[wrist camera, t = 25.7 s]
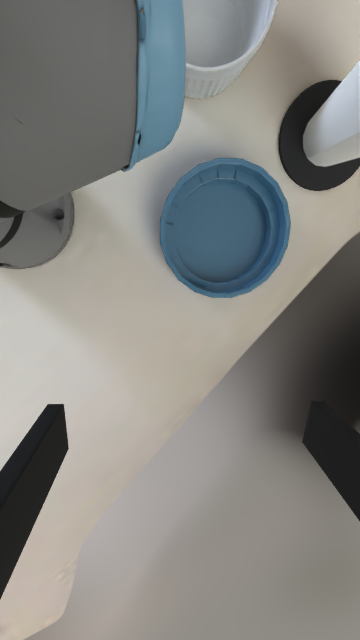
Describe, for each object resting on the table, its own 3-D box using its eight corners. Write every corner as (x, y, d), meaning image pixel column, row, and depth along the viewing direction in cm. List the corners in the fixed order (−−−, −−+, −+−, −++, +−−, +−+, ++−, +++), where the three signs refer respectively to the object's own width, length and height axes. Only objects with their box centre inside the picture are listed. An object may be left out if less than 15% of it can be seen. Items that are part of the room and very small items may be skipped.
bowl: (135, 218, 33) (132, 214, 29) (238, 140, 31) (249, 125, 27) (202, 314, 37) (207, 321, 33) (296, 249, 35) (311, 249, 32)
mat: (262, 123, 31) (263, 121, 30) (347, 58, 29) (349, 55, 29) (304, 209, 34) (305, 209, 33) (382, 154, 33) (385, 153, 32)
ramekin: (127, 90, 29) (117, 42, 22) (151, -59, 25) (147, -170, 19) (234, 126, 30) (254, 91, 24) (269, -10, 27) (304, -94, 20)
